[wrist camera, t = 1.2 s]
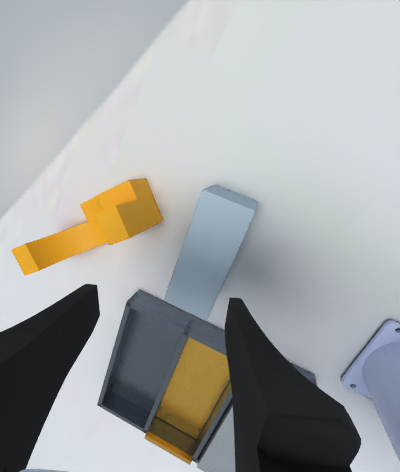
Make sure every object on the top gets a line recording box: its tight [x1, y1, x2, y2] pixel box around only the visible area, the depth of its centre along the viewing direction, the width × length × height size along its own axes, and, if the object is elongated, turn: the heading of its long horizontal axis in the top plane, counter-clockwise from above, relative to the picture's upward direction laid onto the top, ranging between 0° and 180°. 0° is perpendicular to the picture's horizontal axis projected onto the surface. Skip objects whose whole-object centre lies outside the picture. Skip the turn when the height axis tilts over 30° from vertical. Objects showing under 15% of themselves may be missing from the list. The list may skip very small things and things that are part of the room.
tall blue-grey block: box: [164, 185, 258, 321], centre depth 21 cm, size 4×10×5 cm, turn 160°
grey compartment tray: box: [97, 289, 317, 472], centre depth 27 cm, size 20×17×3 cm
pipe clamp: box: [11, 179, 163, 275], centre depth 23 cm, size 12×4×6 cm, turn 111°
